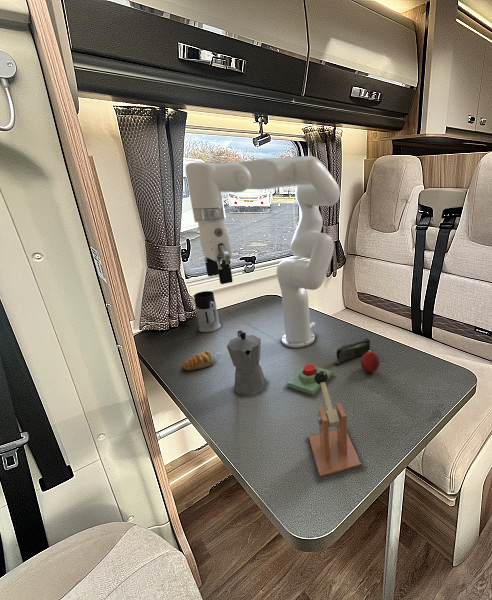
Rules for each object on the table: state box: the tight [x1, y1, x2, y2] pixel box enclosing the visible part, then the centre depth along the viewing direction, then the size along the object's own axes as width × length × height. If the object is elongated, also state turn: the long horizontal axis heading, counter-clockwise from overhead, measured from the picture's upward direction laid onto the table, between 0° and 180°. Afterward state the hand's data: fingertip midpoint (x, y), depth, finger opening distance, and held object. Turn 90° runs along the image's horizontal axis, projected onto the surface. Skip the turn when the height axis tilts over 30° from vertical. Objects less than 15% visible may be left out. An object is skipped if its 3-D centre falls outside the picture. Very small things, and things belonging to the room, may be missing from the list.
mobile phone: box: [335, 338, 371, 365], centre depth 108 cm, size 5×3×15 cm
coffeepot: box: [226, 329, 267, 395], centre depth 92 cm, size 15×9×18 cm, turn 25°
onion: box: [360, 349, 380, 373], centre depth 99 cm, size 6×6×8 cm
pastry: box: [182, 350, 215, 371], centre depth 106 cm, size 9×7×4 cm
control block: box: [286, 363, 333, 396], centre depth 95 cm, size 11×9×4 cm
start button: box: [303, 363, 316, 376], centre depth 94 cm, size 4×4×2 cm
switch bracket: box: [308, 402, 362, 478], centre depth 69 cm, size 11×9×12 cm
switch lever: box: [314, 371, 339, 429], centre depth 71 cm, size 13×3×3 cm, turn 17°
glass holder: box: [193, 290, 222, 333], centre depth 129 cm, size 9×14×15 cm, turn 43°
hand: (219, 279), depth 87 cm, fingers open, 9 cm apart
